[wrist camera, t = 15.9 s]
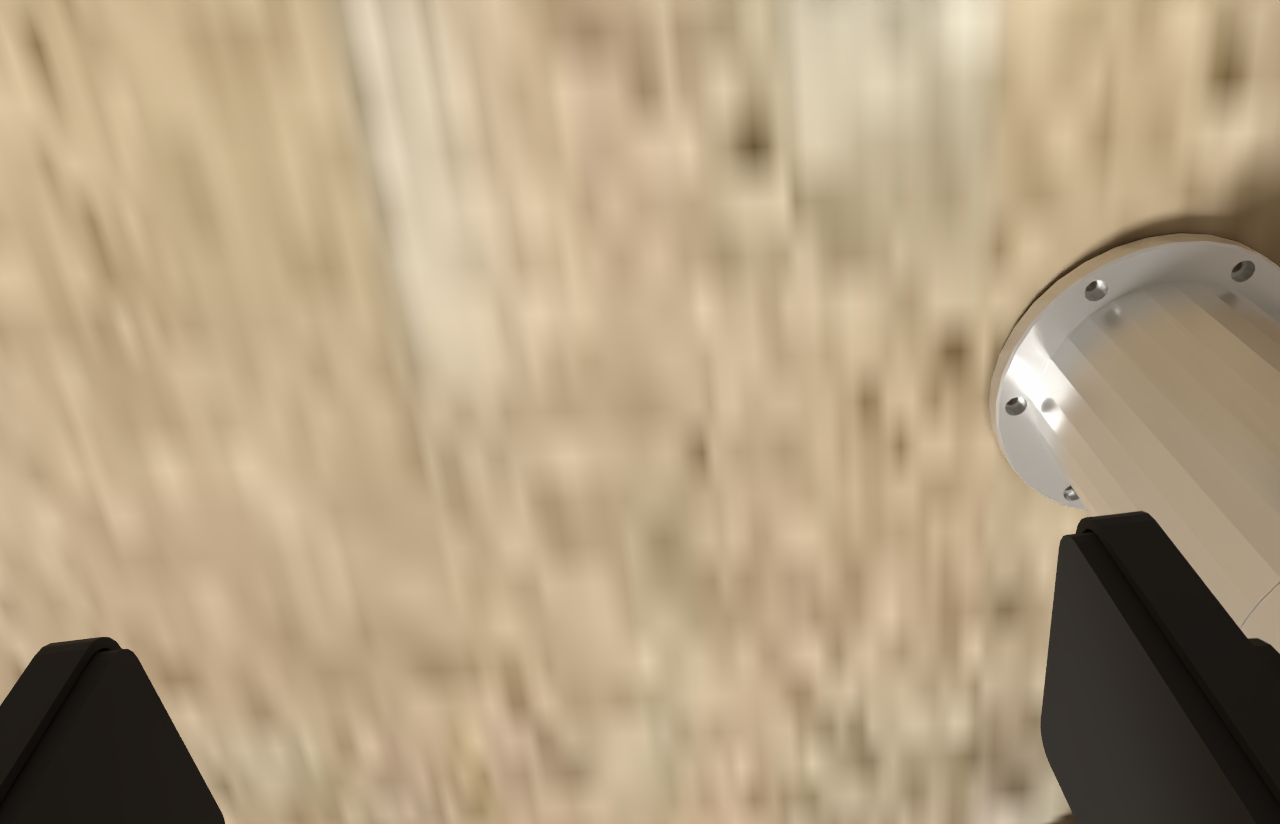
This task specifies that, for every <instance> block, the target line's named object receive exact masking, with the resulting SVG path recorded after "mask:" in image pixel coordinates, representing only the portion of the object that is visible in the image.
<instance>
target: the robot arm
mask: <svg viewBox="0 0 1280 824" xmlns="http://www.w3.org/2000/svg"><path fill="white" fill-rule="evenodd" d="M1090 283H1091V284H1090ZM1089 284H1090V285H1089ZM1088 285H1089V286H1088ZM989 409H990V417H991V426H992V429H993V432H994V435H995V437H996V440H997V443H998V445H999V448H1000V450H1001V451H1002V453H1003V454H1004V456H1005V458H1006V459H1007V461H1008V463H1009V464H1010V466H1011V468H1012V469H1013V470H1014V471H1015V472H1016V473H1017V475H1018V476H1019V477H1020V478H1021V479H1022V480H1023V481H1024V482H1025V483H1026V484H1027V485H1028V486H1029V487H1031V488H1032V489H1034V490H1035V491H1036V492H1038V493H1039V494H1041V495H1042V496H1044V497H1045V498H1047V499H1049V500H1052V501H1054V502H1056V503H1059V504H1061V505H1063V506H1066V507H1070V508H1075V509H1080V510H1085V511H1089V512H1090V514H1091V515H1092V517H1086V518H1084V519H1081V521H1080V522H1079V524H1078V526H1077V531H1076V534H1071V535H1065V536H1063V537H1062V539H1061V541H1060V546H1059V554H1058V563H1057V573H1056V582H1055V592H1054V601H1053V611H1052V620H1051V629H1050V639H1049V648H1048V658H1047V667H1046V677H1045V686H1044V696H1043V705H1042V714H1041V736H1042V741H1043V746H1044V749H1045V753H1046V756H1047V758H1048V761H1049V763H1050V766H1051V768H1052V770H1053V772H1054V774H1055V776H1056V778H1057V781H1058V783H1059V785H1060V787H1061V789H1062V791H1063V793H1064V796H1065V798H1066V800H1067V802H1068V804H1069V806H1070V808H1071V811H1072V813H1073V815H1074V817H1075V819H1076V821H1077V824H1280V267H1279V266H1278V265H1276V264H1275V263H1274V262H1272V261H1271V260H1269V259H1268V258H1267V257H1265V256H1264V255H1262V254H1261V253H1259V252H1257V251H1255V250H1253V249H1251V248H1249V247H1247V246H1245V245H1243V244H1241V243H1240V242H1237V241H1233V240H1229V239H1225V238H1221V237H1217V236H1214V235H1207V234H1185V233H1178V234H1170V235H1163V236H1155V237H1148V238H1144V239H1141V240H1138V241H1135V242H1131V243H1128V244H1125V245H1121V246H1118V247H1115V248H1113V249H1111V250H1109V251H1107V252H1105V253H1103V254H1101V255H1099V256H1096V257H1094V258H1092V259H1090V260H1088V261H1086V262H1084V263H1083V264H1081V265H1080V266H1078V267H1077V268H1076V269H1074V270H1073V271H1071V272H1070V273H1068V274H1067V275H1065V276H1064V277H1062V278H1061V279H1059V280H1058V281H1057V282H1056V283H1055V284H1053V285H1052V286H1051V287H1050V288H1049V289H1048V290H1047V291H1046V292H1045V293H1044V294H1043V295H1042V296H1040V297H1039V298H1038V299H1037V300H1036V301H1035V302H1034V303H1033V304H1032V305H1031V307H1030V308H1029V309H1028V311H1027V312H1026V313H1025V314H1024V316H1023V317H1022V318H1021V319H1020V321H1019V322H1018V323H1017V324H1016V326H1015V327H1014V329H1013V330H1012V332H1011V334H1010V336H1009V338H1008V340H1007V341H1006V343H1005V345H1004V347H1003V349H1002V351H1001V352H1000V355H999V358H998V361H997V364H996V367H995V370H994V373H993V377H992V381H991V390H990V399H989ZM0 824H225V821H224V817H223V815H222V812H221V811H220V809H219V807H218V805H217V803H216V801H215V800H214V798H213V796H212V794H211V792H210V790H209V788H208V787H207V785H206V783H205V781H204V779H203V777H202V776H201V774H200V772H199V770H198V768H197V766H196V765H195V763H194V761H193V759H192V757H191V755H190V753H189V752H188V750H187V748H186V746H185V744H184V742H183V741H182V739H181V737H180V735H179V733H178V731H177V730H176V728H175V726H174V724H173V722H172V720H171V718H170V717H169V715H168V713H167V711H166V709H165V707H164V706H163V704H162V702H161V700H160V698H159V696H158V695H157V693H156V691H155V689H154V687H153V685H152V683H151V682H150V680H149V678H148V676H147V674H146V672H145V671H144V669H143V667H142V665H141V663H140V661H139V660H138V658H137V656H136V655H135V654H134V652H132V651H130V650H129V649H122V648H121V647H120V646H119V644H118V643H117V642H116V641H114V640H113V639H111V638H109V637H99V638H90V639H82V640H74V641H66V642H57V643H51V644H48V645H46V646H44V647H42V648H41V650H40V651H39V652H38V653H37V654H36V655H35V656H34V658H33V659H32V661H31V662H30V664H29V665H28V666H27V668H26V669H25V671H24V672H23V674H22V675H21V677H20V678H19V679H18V681H17V682H16V684H15V685H14V687H13V688H12V690H11V691H10V693H9V694H8V695H7V697H6V698H5V700H4V701H3V703H2V704H1V706H0Z"/></svg>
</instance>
